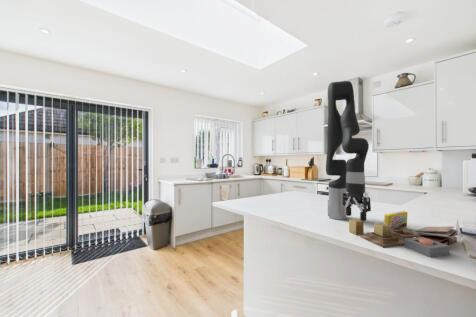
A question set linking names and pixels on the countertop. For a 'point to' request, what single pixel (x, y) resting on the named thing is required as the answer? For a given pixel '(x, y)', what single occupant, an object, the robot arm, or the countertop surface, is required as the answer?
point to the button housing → (427, 247)
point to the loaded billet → (382, 230)
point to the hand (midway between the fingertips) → (355, 218)
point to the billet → (356, 226)
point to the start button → (425, 241)
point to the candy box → (396, 220)
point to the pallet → (390, 238)
